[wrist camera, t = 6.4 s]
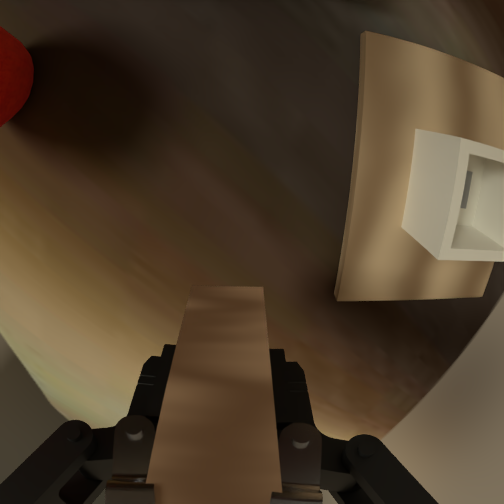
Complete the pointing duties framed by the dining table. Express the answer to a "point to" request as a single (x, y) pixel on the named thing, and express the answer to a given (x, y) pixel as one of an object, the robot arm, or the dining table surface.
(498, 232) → the white square box
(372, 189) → the wooden board
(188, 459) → the square wooden post
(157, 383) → the robot arm
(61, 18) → the dining table surface
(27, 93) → the apple
